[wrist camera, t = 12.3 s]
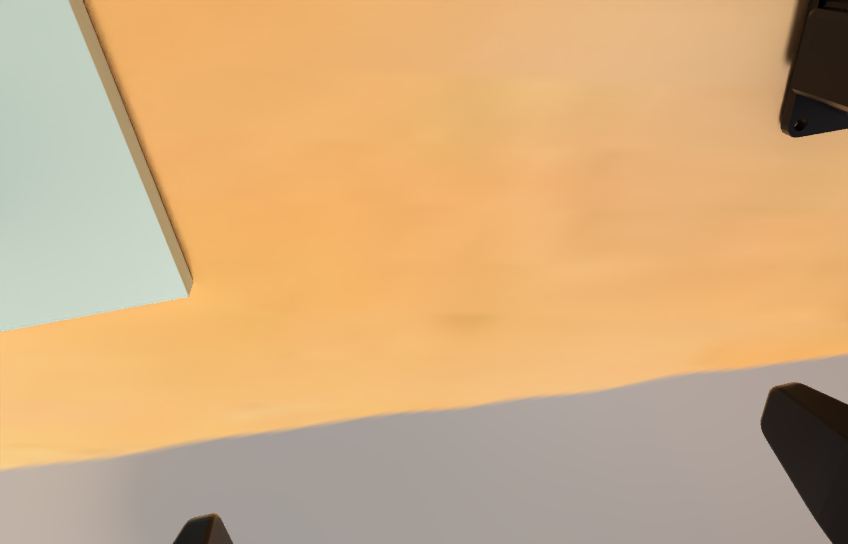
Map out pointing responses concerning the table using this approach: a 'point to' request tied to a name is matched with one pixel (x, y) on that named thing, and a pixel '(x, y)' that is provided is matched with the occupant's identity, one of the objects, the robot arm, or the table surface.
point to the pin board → (73, 178)
